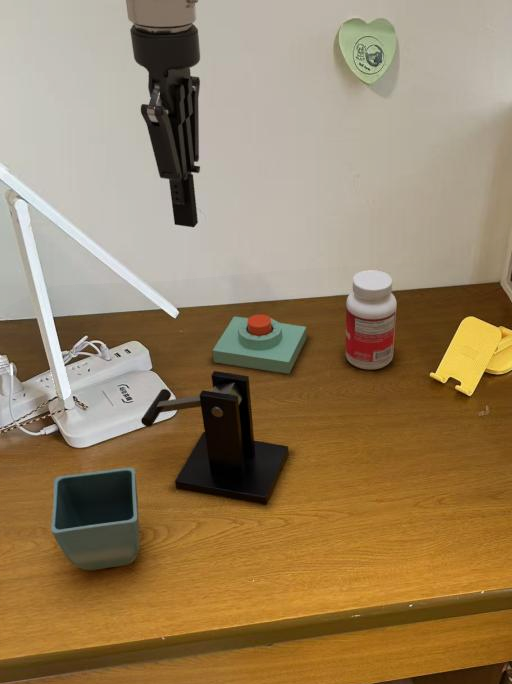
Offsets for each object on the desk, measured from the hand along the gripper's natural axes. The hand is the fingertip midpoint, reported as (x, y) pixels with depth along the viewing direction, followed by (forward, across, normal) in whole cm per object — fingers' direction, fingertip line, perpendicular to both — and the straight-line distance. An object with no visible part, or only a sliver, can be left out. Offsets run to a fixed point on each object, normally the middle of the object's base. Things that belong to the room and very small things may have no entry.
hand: (186, 223), depth 103 cm
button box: (+22, +5, -8) cm, 24 cm away
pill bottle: (+22, +7, -25) cm, 34 cm away
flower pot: (+23, -39, -3) cm, 45 cm away
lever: (+13, -22, -9) cm, 27 cm away
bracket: (+22, -22, -13) cm, 34 cm away
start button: (+18, +5, -8) cm, 21 cm away
